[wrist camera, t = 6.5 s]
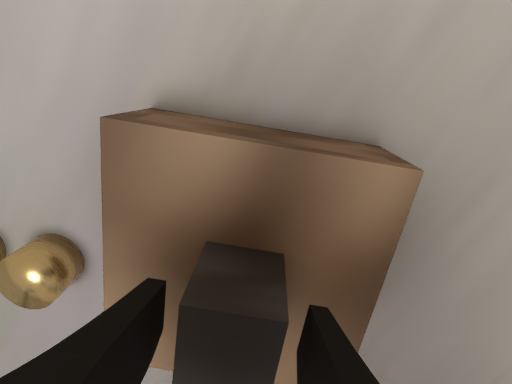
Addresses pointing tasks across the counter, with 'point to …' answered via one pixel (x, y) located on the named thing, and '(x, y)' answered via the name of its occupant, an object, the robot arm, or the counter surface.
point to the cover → (246, 236)
